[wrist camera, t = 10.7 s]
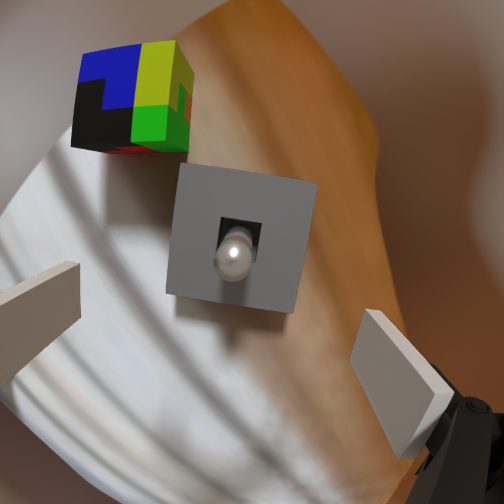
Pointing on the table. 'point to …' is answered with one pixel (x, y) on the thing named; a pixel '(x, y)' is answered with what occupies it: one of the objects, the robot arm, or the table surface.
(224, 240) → the pin
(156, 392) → the table surface
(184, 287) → the socket block
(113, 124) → the puzzle toy
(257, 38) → the table surface
